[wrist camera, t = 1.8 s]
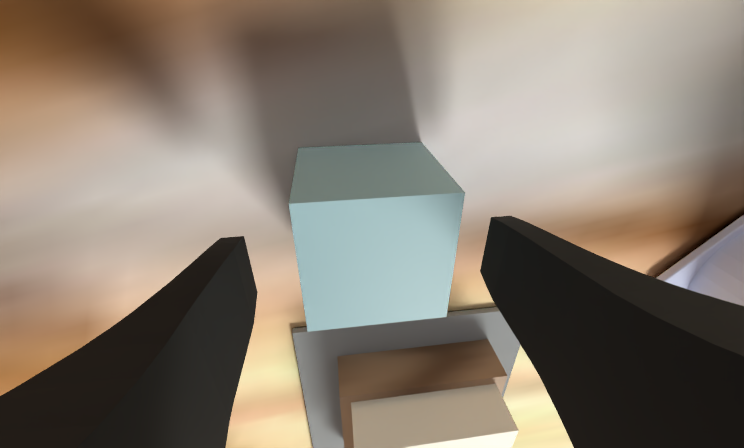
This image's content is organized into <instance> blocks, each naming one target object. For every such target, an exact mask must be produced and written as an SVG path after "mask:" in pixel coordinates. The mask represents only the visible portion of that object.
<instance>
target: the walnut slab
mask: <svg viewBox="0 0 744 448" xmlns="http://www.w3.org/2000/svg"><path fill="white" fill-rule="evenodd" d="M337 358H338V377H339V396H340V408H341V418H342V429H343V440H344V448H354V441H353V425H352V410H351V402H358V401H366V400H374V399H381V398H389V397H397V396H404V395H412V394H420V393H427V392H435V391H443V390H450V389H458V388H466V387H473V386H481V385H489V384H496V385H497V387H498V389H499V391H500V393H501V395H502V392H503V389H504V385H505V382H506V379H507V374H506V372H505V370H504V368H503V366H502V364H501V362H500V361H499V359H498V357H497V355H496V353H495V351H494V349H493V347H492V346H491V344H490V342H489V340H488V339H484V340H475V341H466V342H457V343H449V344H440V345H431V346H423V347H414V348H405V349H397V350H388V351H379V352H370V353H362V354H353V355H344V356H337Z"/></svg>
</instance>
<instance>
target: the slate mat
mask: <svg viewBox="0 0 744 448" xmlns="http://www.w3.org/2000/svg"><path fill="white" fill-rule="evenodd" d="M292 335H293V340H294V346H295V351H296V356H297V362H298V367H299V373H300V378H301V384H302V389H303V395H304V400H305V406H306V411H307V416H308V422H309V427H310V433H311V438H312V444H313V448H344V440H343V429H342V418H341V408H340V396H339V377H338V358H337V356H344V355H353V354H362V353H370V352H379V351H388V350H397V349H405V348H414V347H423V346H431V345H440V344H449V343H457V342H466V341H475V340H484V339H488V340H489V342H490V344H491V346H492V347H493V349H494V351H495V353H496V355H497V357H498V359H499V361H500V362H501V364H502V366H503V368H504V370H505V372H506V374H507V379H506V382H505V385H504V389H503V392H502V397H503V396H504V393H505V390H506V387H507V383H508V380H509V377H510V374H511V371H512V368H513V365H514V362H515V359H516V356H517V353H518V350H519V347H520V343H519V341H518V340H517V338H516V336H515V335H514V333H513V332H512V330H511V328H510V327H509V325H508V324H507V322H506V321H505V319H504V317H503V316H502V314H501V312H500V311H499V309H498V307H492V308H482V309H473V310H463V311H454V312H447V317H442V318H432V319H423V320H413V321H404V322H395V323H385V324H376V325H366V326H357V327H348V328H338V329H329V330H319V331H310V332H308V331H307V327H300V328H293V330H292Z"/></svg>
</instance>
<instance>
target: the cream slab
mask: <svg viewBox="0 0 744 448" xmlns="http://www.w3.org/2000/svg"><path fill="white" fill-rule="evenodd" d="M351 410H352V425H353V441H354V448H512V446H513V443H514V441H515V438H516V436H517V433H518V431H519V430H518V428H517V426H516V424H515V422H514V420H513V418H512V416H511V414H510V412H509V410H508V408H507V406H506V404H505V402H504V400H503V397H502V395H501V393H500V391H499V389H498V387H497V385H496V384H489V385H481V386H473V387H466V388H458V389H450V390H443V391H435V392H427V393H420V394H412V395H404V396H397V397H389V398H381V399H374V400H366V401H358V402H351Z"/></svg>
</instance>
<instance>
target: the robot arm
mask: <svg viewBox="0 0 744 448" xmlns="http://www.w3.org/2000/svg"><path fill="white" fill-rule="evenodd" d="M480 272H481V274H482V277H483V279H484V281H485V284H486V286H487V288H488V290H489V293H490V295H491V297H492V299H493V301H494V302H495V304H496V306H497V307H498V309H499V311H500V312H501V314H502V316H503V317H504V319H505V321H506V322H507V324H508V325H509V327H510V328H511V330H512V332H513V333H514V335H515V336H516V338H517V340H518V341H519V343H520V344H521V346H522V348H523V349H524V351H525V352H526V354H527V356H528V357H529V359H530V360H531V362H532V364H533V365H534V367H535V369H536V371H537V372H538V374H539V376H540V378H541V380H542V382H543V384H544V386H545V388H546V390H547V392H548V394H549V396H550V398H551V400H552V402H553V404H554V406H555V408H556V410H557V412H558V414H559V416H560V418H561V420H562V423H563V425H564V427H565V429H566V431H567V433H568V436H569V438H570V440H571V442H572V444H573V447H574V448H744V215H742V216H741V217H740V218H738V219H737V220H735V221H734V222H733V223H731V224H730V225H729V226H727V227H726V228H724V229H723V230H722V231H720V232H719V233H717V234H716V235H715V236H713V237H712V238H711V239H709V240H708V241H706V242H705V243H704V244H702V245H701V246H699V247H698V248H697V249H695V250H694V251H692V252H691V253H690V254H688V255H687V256H686V257H684V258H683V259H681V260H680V261H679V262H677V263H676V264H674V265H673V266H672V267H670V268H669V269H668V270H666V271H665V272H663V273H662V274H661V275H659V276H658V277H656V278H654V277H651V276H648V275H645V274H642V273H640V272H637V271H635V270H632V269H630V268H627V267H625V266H622V265H620V264H617V263H615V262H613V261H610V260H608V259H606V258H603V257H601V256H599V255H596V254H594V253H592V252H590V251H587V250H585V249H583V248H581V247H579V246H576V245H574V244H572V243H570V242H568V241H566V240H564V239H562V238H559V237H557V236H555V235H553V234H551V233H549V232H547V231H545V230H543V229H541V228H538V227H536V226H534V225H532V224H530V223H527V222H525V221H523V220H520V219H518V218H515V217H512V216H503V217H491V221H490V226H489V231H488V236H487V240H486V245H485V250H484V255H483V260H482V265H481V270H480ZM256 299H257V289H256V285H255V281H254V277H253V272H252V268H251V264H250V260H249V256H248V252H247V247H246V243H245V239H244V236H241V237H228V238H220V239H219V240H218V241H217V242H215V243H214V244H213V245H212V246H211V247H209V248H208V249H207V250H206V251H205V252H204V253H203V254H201V255H200V256H199V257H198V258H197V259H196V260H195V261H194V262H193V263H191V264H190V265H189V266H188V267H187V268H186V269H184V270H183V271H182V272H181V273H180V274H179V275H178V276H176V277H175V278H174V279H173V280H172V281H171V282H169V283H168V284H167V285H166V286H165V287H163V288H162V289H161V290H160V291H158V292H157V293H156V294H154V295H153V296H152V297H151V298H149V299H148V300H147V301H146V302H144V303H143V304H142V305H141V306H139V307H138V308H137V309H136V310H134V311H133V312H132V313H130V314H129V315H128V316H126V317H125V318H124V319H122V320H121V321H119V322H118V323H117V324H115V325H114V326H113V327H111V328H110V329H108V330H107V331H105V332H104V333H102V334H101V335H99V336H98V337H96V338H95V339H93V340H92V341H90V342H89V343H88V344H86V345H85V346H83V347H81V348H80V349H78V350H77V351H75V352H74V353H72V354H70V355H69V356H67V357H65V358H64V359H62V360H60V361H59V362H57V363H55V364H54V365H52V366H51V367H49V368H47V369H46V370H44V371H42V372H41V373H39V374H37V375H36V376H34V377H32V378H31V379H29V380H27V381H26V382H24V383H22V384H21V385H19V386H17V387H16V388H14V389H12V390H10V391H9V392H7V393H5V394H3V395H1V396H0V448H225V446H226V440H227V434H228V427H229V421H230V416H231V412H232V407H233V402H234V398H235V394H236V391H237V387H238V383H239V379H240V375H241V371H242V368H243V364H244V360H245V356H246V352H247V348H248V344H249V340H250V336H251V333H252V328H253V324H254V317H255V309H256Z"/></svg>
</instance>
